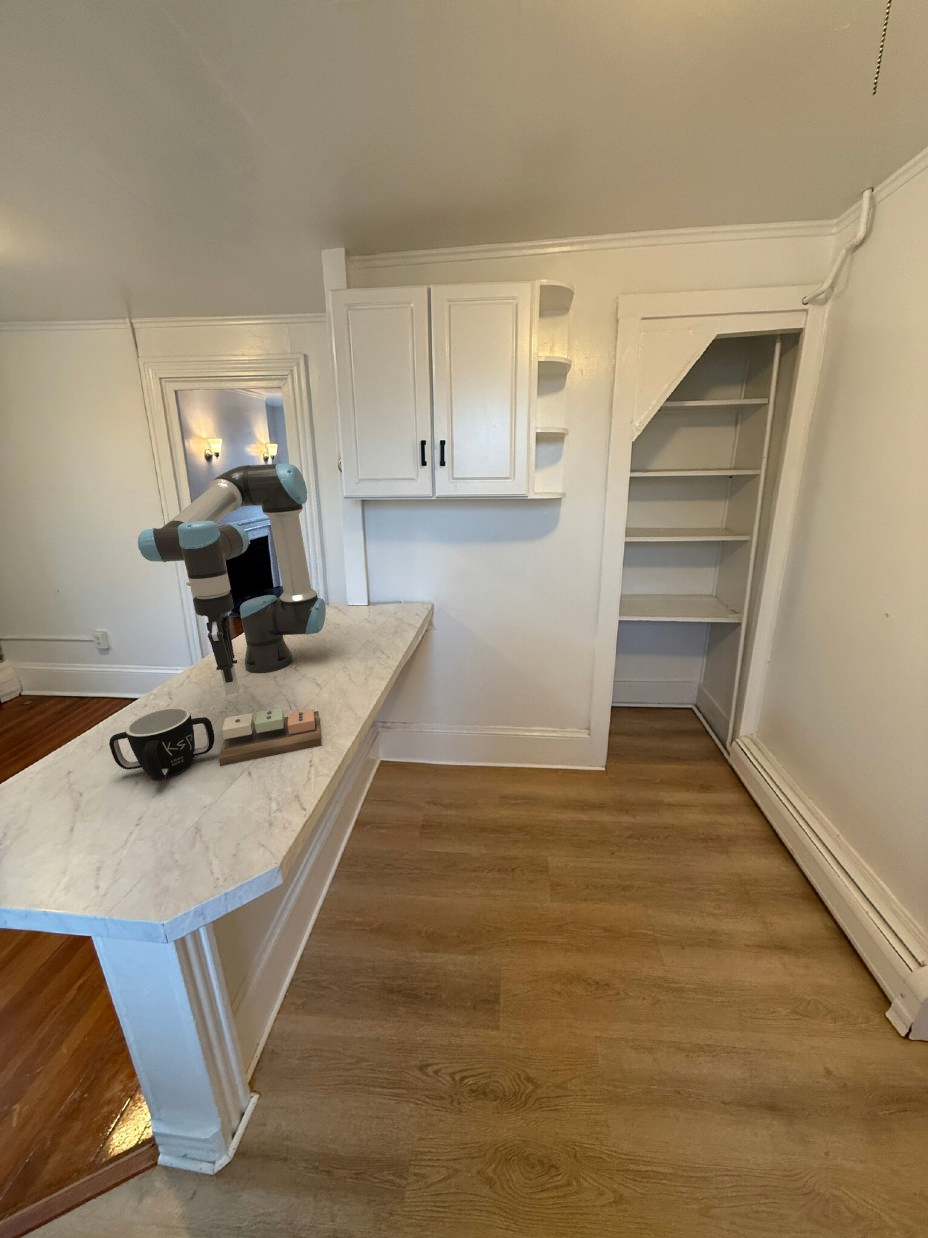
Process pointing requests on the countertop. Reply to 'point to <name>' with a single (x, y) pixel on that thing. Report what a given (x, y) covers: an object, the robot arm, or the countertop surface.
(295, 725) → the key
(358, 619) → the countertop surface
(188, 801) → the countertop surface
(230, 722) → the key
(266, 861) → the countertop surface
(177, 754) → the mug
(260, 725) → the key
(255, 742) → the board
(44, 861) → the countertop surface
